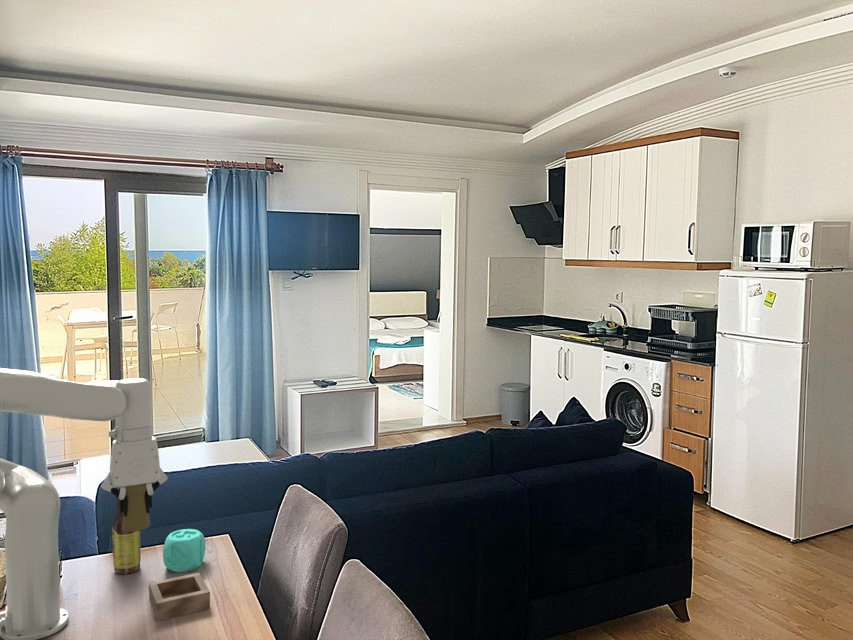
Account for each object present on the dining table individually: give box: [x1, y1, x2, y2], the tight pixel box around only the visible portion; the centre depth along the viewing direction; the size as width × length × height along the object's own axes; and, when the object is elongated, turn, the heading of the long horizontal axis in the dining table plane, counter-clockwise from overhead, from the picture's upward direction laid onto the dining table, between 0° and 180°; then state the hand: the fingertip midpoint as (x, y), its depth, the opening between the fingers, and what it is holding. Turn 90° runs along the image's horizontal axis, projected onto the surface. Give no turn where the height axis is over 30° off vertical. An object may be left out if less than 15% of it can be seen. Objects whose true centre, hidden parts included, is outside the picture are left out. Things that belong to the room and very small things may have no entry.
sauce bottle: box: [111, 494, 142, 575], centre depth 171 cm, size 7×6×20 cm
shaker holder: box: [148, 572, 211, 622], centre depth 154 cm, size 11×11×4 cm
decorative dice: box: [162, 528, 206, 573], centre depth 174 cm, size 8×8×8 cm
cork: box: [122, 484, 151, 532], centre depth 157 cm, size 6×6×11 cm
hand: (135, 512), depth 158 cm, fingers closed on cork, 4 cm apart
